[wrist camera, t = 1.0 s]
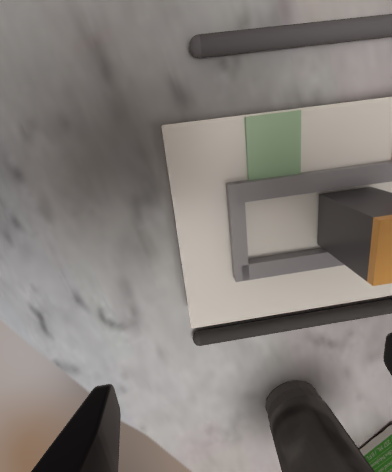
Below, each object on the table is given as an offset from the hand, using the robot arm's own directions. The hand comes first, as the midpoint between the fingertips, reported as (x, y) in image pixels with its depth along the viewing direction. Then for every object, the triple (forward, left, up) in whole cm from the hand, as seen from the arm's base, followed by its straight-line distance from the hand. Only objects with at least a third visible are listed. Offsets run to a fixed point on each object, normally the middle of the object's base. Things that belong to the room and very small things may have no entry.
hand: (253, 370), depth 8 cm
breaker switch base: (-8, 0, -12) cm, 15 cm away
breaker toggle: (-8, 0, -9) cm, 12 cm away
